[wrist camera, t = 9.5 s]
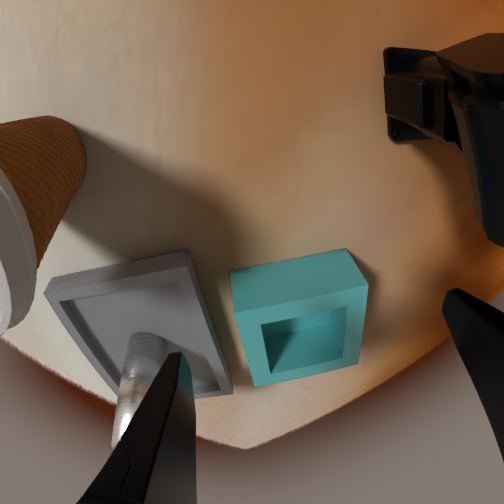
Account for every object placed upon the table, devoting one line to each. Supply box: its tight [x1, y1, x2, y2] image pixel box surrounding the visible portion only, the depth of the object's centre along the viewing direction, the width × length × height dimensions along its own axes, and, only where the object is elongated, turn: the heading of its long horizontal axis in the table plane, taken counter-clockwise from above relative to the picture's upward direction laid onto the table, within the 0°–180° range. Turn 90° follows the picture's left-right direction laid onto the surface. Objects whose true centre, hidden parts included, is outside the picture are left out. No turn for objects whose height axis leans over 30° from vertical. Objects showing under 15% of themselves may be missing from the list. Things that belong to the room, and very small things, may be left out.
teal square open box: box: [230, 248, 369, 387], centre depth 24 cm, size 9×9×4 cm
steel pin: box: [111, 332, 168, 449], centre depth 22 cm, size 4×4×10 cm
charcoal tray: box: [43, 250, 233, 399], centre depth 26 cm, size 12×16×2 cm
